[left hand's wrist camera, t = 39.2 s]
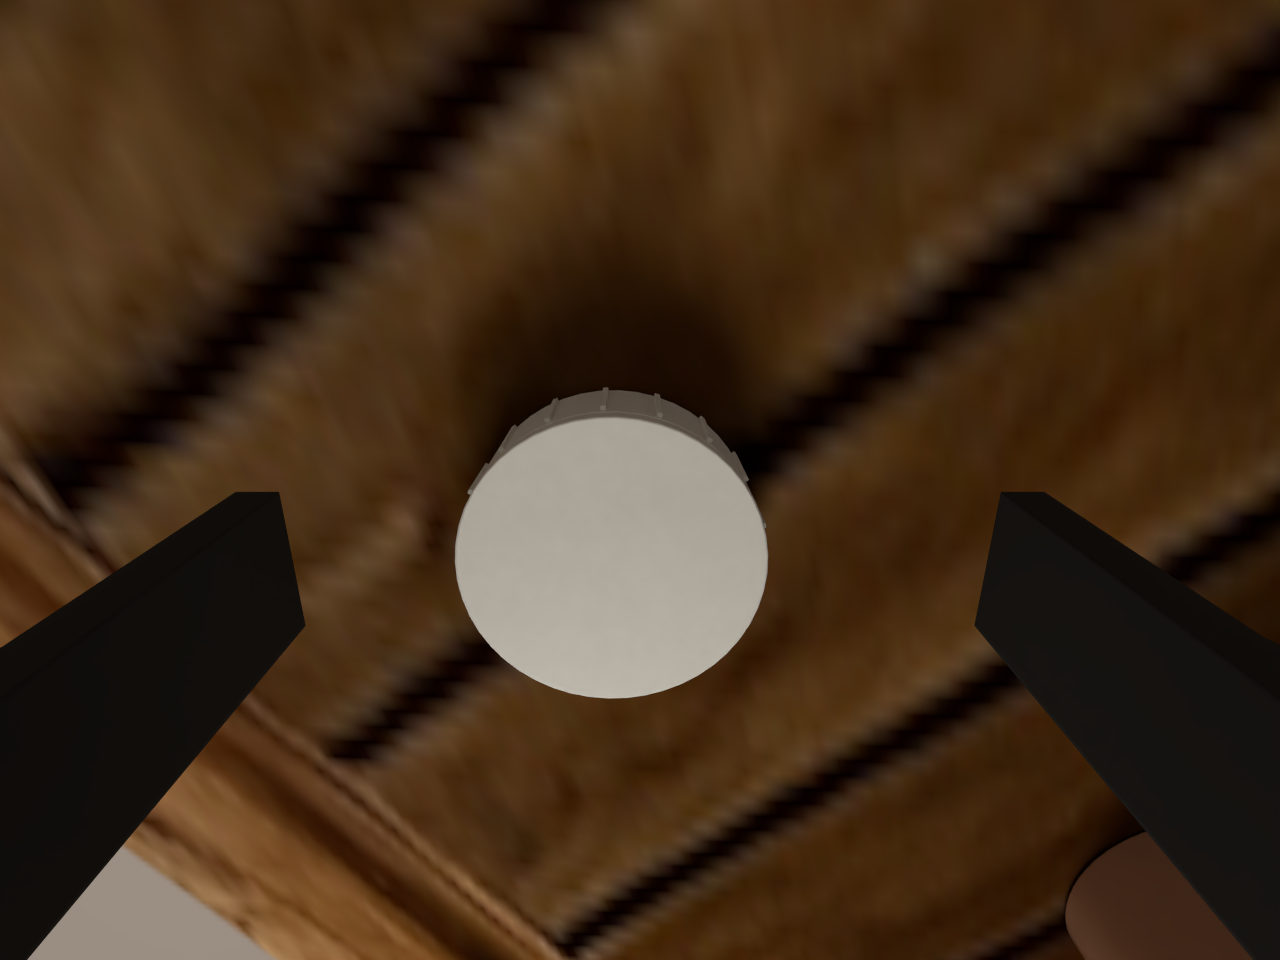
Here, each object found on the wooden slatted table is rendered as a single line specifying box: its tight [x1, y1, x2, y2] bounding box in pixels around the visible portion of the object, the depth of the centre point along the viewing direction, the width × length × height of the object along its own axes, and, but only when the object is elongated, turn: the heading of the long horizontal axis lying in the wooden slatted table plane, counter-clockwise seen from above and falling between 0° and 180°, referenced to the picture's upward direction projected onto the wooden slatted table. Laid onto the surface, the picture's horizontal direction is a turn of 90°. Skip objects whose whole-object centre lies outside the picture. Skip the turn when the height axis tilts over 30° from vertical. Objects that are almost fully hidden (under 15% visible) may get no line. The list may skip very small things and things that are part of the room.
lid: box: [455, 387, 768, 698], centre depth 14 cm, size 6×6×2 cm
